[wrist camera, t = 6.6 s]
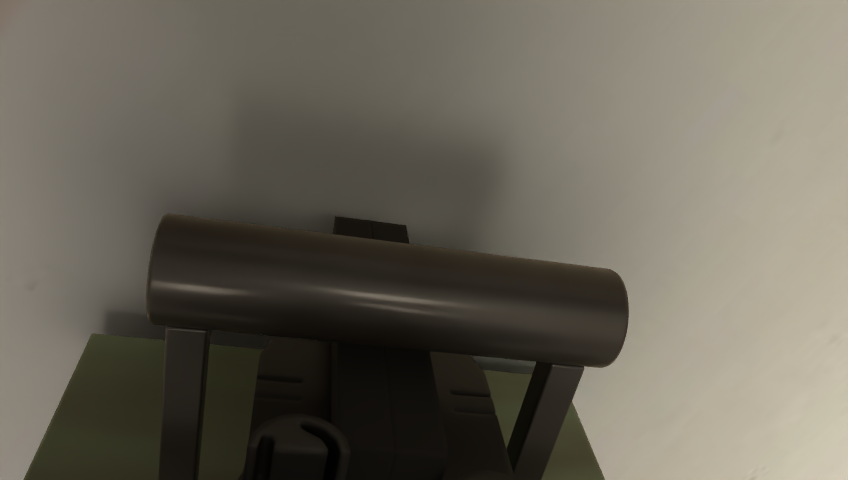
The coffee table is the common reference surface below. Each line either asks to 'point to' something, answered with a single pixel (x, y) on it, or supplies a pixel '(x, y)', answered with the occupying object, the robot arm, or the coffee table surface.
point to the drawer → (326, 321)
